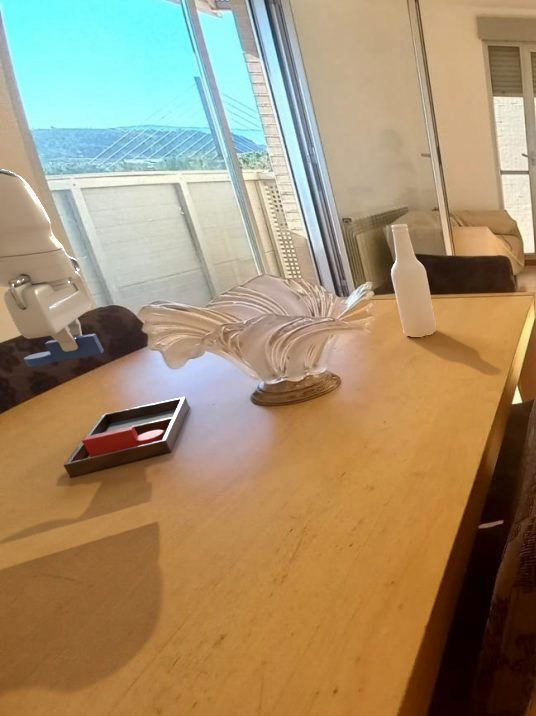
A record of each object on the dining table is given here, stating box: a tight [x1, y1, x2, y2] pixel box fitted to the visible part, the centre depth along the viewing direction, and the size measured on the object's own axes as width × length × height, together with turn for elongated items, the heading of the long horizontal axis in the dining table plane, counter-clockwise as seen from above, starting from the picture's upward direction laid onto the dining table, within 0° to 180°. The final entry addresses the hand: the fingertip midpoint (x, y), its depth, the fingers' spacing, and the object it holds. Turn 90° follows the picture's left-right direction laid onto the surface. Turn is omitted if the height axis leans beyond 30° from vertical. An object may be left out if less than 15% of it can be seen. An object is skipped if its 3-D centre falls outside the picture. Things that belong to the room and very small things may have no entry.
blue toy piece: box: [23, 333, 105, 368], centre depth 83 cm, size 9×4×3 cm, turn 123°
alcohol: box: [390, 223, 437, 337], centre depth 129 cm, size 9×9×30 cm
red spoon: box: [81, 426, 165, 457], centre depth 81 cm, size 9×4×3 cm, turn 123°
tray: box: [62, 396, 190, 479], centre depth 85 cm, size 12×20×2 cm, turn 33°
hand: (75, 347), depth 84 cm, fingers closed on blue toy piece
